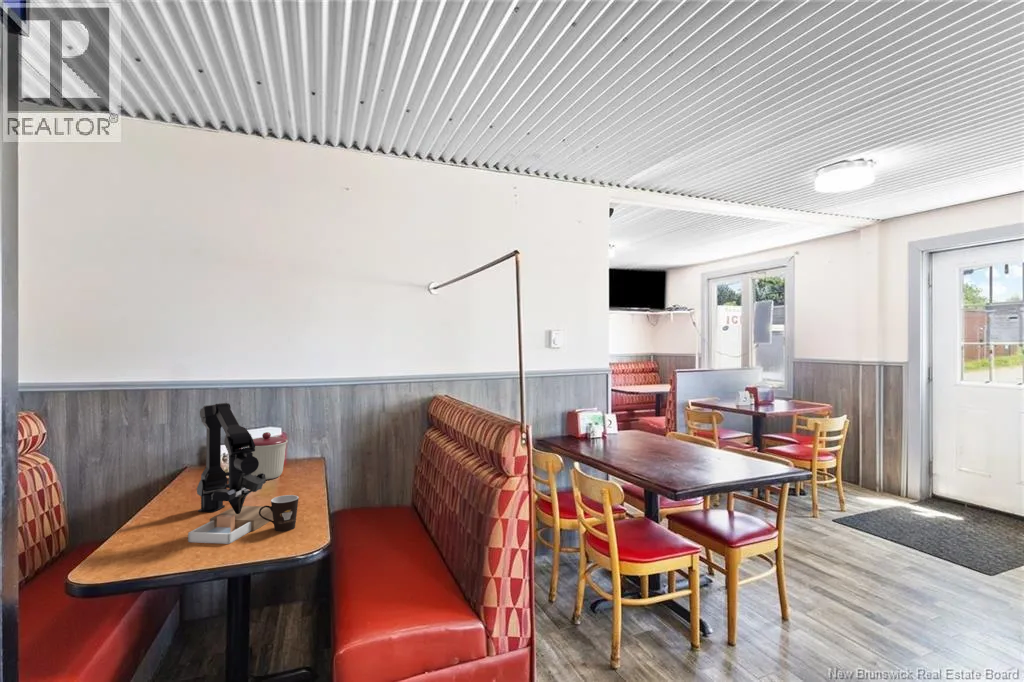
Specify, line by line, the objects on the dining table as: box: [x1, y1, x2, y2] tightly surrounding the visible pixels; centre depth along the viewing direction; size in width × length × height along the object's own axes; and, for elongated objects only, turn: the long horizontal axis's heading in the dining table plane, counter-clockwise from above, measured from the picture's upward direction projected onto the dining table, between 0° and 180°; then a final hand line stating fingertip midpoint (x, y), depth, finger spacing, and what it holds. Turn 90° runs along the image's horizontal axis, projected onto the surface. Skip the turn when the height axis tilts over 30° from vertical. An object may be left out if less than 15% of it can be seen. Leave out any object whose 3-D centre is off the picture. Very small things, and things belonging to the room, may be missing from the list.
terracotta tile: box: [217, 515, 235, 532], centre depth 168 cm, size 5×5×2 cm
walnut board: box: [209, 505, 273, 532], centre depth 177 cm, size 16×14×4 cm
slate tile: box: [207, 527, 231, 533], centre depth 164 cm, size 5×5×2 cm
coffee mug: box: [259, 494, 299, 533], centre depth 171 cm, size 12×9×10 cm
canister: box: [246, 431, 288, 481], centre depth 237 cm, size 18×18×21 cm
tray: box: [187, 520, 251, 545], centre depth 164 cm, size 14×11×3 cm
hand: (238, 513), depth 174 cm, fingers closed
